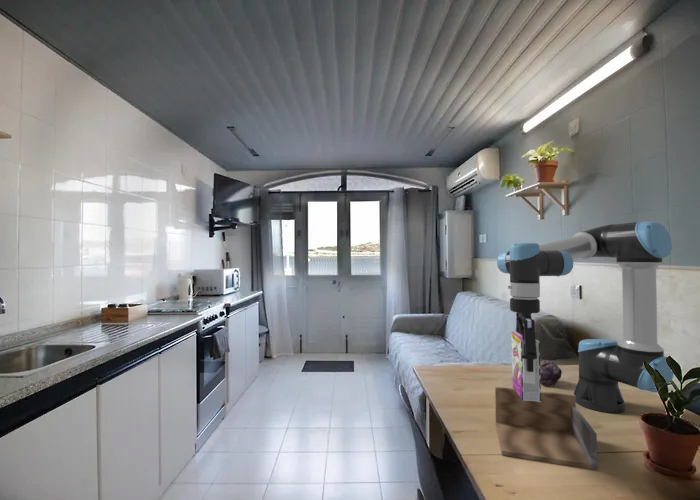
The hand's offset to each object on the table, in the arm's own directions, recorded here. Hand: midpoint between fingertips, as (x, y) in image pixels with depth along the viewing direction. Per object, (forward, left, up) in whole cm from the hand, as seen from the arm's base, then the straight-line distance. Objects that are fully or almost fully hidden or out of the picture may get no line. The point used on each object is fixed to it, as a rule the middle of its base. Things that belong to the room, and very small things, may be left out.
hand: (525, 375), depth 98 cm
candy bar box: (0, 0, -5) cm, 5 cm away
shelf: (-4, -3, -20) cm, 21 cm away
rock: (-18, -58, -20) cm, 64 cm away
